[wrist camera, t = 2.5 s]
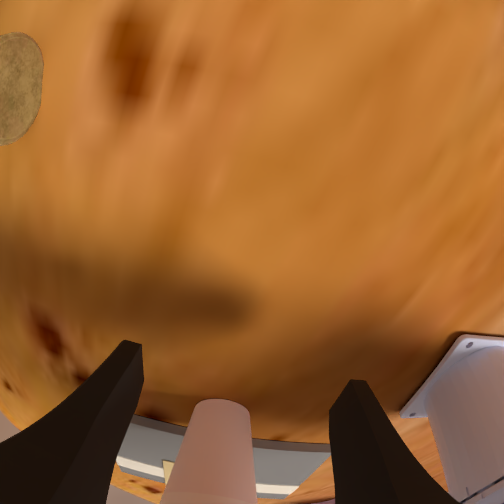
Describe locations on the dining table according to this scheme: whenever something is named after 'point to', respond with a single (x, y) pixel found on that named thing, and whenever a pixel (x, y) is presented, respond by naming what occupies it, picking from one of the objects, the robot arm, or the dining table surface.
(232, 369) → the dining table surface
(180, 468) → the smoothie
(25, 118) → the gavel
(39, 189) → the dining table surface
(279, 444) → the board
